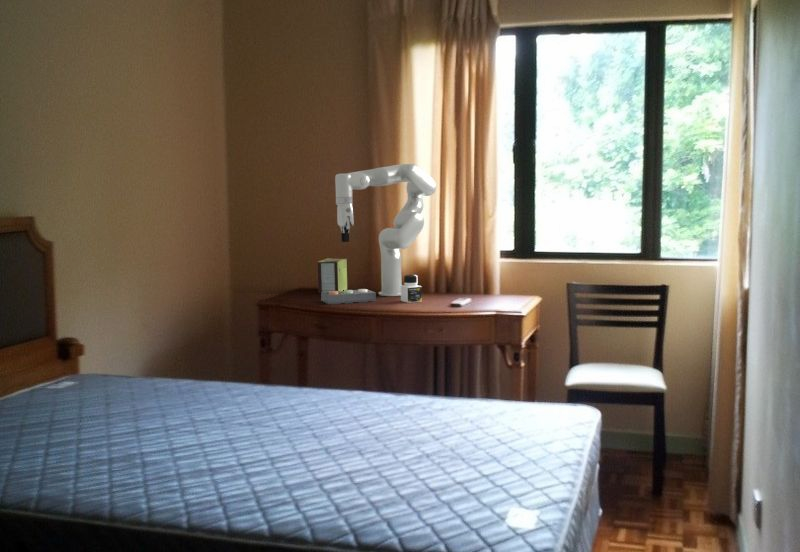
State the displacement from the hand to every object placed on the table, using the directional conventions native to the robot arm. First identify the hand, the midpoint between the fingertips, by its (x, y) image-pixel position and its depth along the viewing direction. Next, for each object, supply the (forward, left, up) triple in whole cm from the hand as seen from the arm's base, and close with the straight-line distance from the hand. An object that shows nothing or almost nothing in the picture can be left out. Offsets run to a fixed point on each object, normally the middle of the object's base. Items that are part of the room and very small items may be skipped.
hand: (345, 241), depth 393 cm
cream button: (-7, +3, -25) cm, 26 cm away
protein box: (-4, -33, -27) cm, 43 cm away
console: (0, +3, -27) cm, 27 cm away
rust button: (+7, +3, -25) cm, 26 cm away
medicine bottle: (-25, +17, -27) cm, 41 cm away
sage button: (0, +3, -25) cm, 25 cm away
